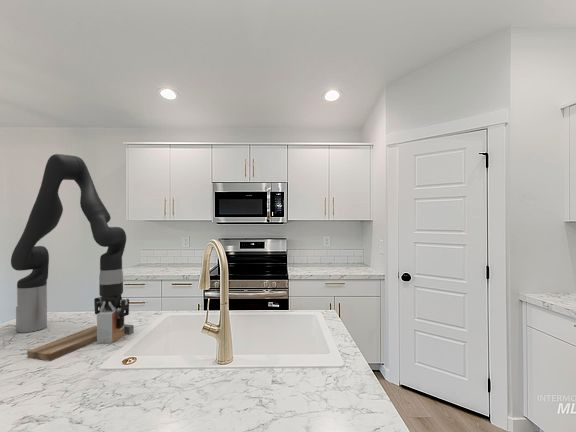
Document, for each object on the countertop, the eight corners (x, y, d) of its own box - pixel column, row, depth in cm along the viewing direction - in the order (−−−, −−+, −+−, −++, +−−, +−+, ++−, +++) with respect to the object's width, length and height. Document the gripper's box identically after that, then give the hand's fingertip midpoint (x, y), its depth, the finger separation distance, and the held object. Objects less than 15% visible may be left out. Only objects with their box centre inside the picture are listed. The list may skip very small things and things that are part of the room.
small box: (112, 343, 107) (111, 313, 107) (96, 343, 107) (96, 313, 107) (125, 335, 115) (124, 307, 115) (110, 335, 115) (110, 307, 115)
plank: (27, 357, 97) (27, 350, 97) (95, 330, 120) (95, 325, 120) (50, 361, 94) (50, 354, 94) (115, 333, 117) (115, 327, 117)
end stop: (116, 333, 117) (116, 325, 117) (121, 331, 119) (121, 323, 119) (129, 334, 115) (129, 326, 115) (133, 332, 117) (133, 325, 117)
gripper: (86, 282, 110) (87, 329, 110) (118, 284, 106) (118, 332, 105) (105, 278, 117) (105, 322, 117) (135, 280, 113) (135, 325, 113)
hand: (111, 327), depth 111 cm, fingers open, 7 cm apart
